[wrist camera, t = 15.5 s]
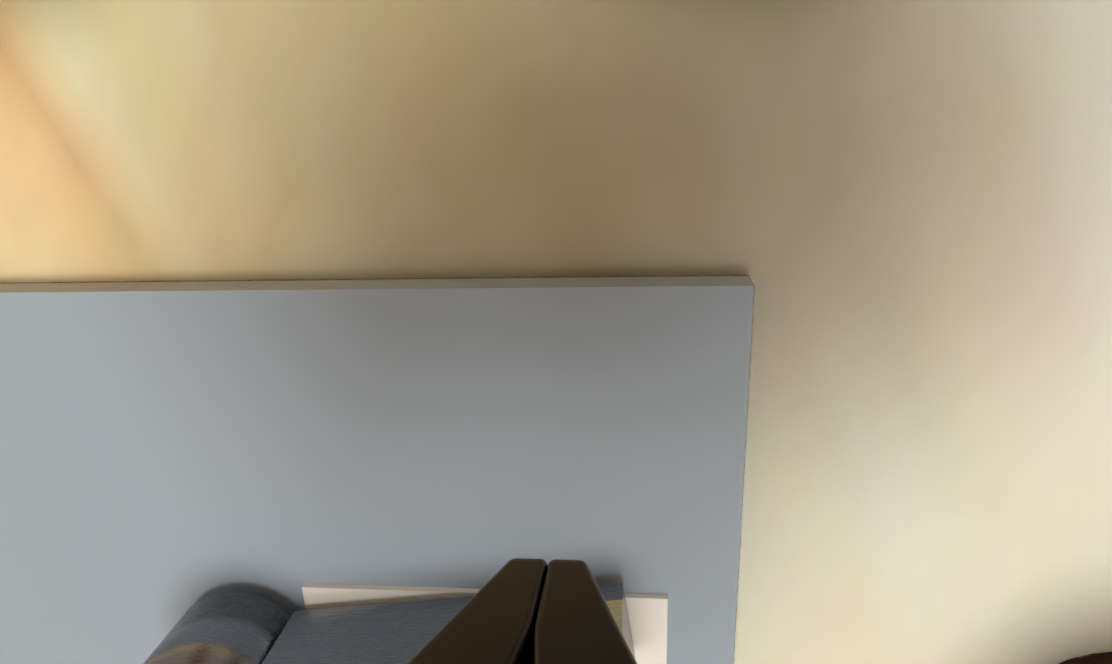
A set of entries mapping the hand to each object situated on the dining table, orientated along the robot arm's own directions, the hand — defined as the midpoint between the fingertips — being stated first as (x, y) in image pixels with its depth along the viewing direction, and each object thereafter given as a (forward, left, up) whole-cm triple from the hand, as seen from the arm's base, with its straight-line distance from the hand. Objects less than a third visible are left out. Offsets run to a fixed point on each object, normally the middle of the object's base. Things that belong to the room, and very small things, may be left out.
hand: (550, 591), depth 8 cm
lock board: (+9, -11, -12) cm, 19 cm away
